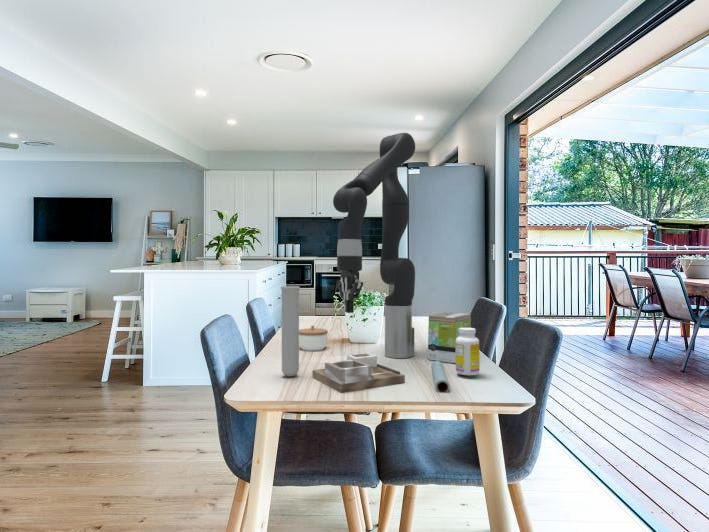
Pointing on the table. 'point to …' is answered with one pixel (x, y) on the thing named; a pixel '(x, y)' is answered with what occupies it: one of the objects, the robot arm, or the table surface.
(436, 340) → the tea box
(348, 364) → the desk organizer tray
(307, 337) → the lidded jar
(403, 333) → the robot arm
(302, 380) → the table surface
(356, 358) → the white hollow block
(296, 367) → the tube
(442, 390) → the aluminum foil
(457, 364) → the supplement bottle
